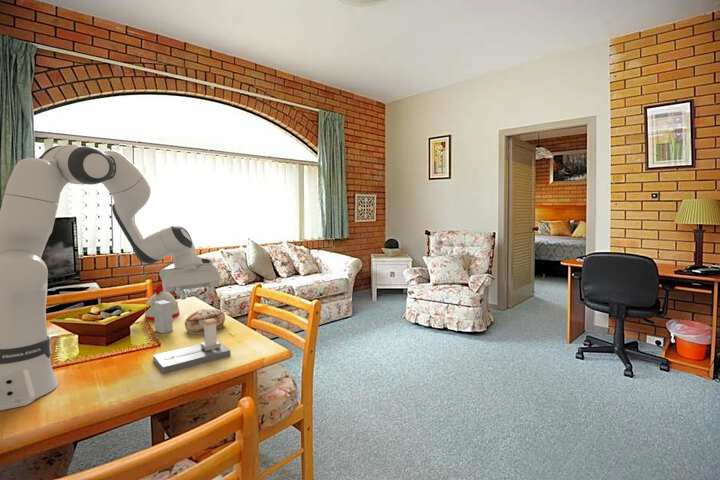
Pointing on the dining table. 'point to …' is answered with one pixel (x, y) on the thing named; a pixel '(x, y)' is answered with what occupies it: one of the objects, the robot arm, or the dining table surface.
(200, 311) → the trinket box
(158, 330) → the skincare box
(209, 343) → the fader knob
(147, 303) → the kitchen timer
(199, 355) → the fader console
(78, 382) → the dining table surface
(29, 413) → the dining table surface
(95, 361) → the dining table surface
